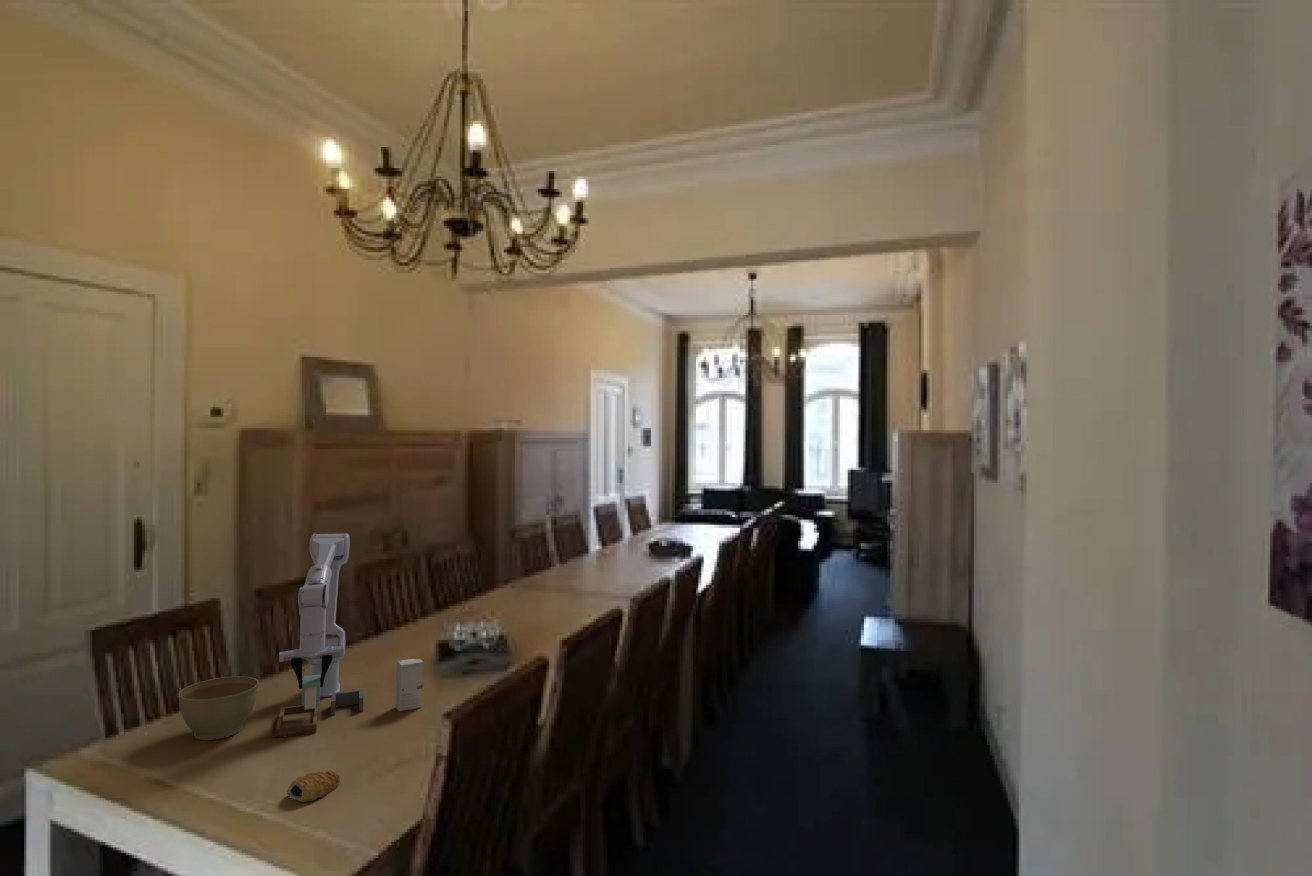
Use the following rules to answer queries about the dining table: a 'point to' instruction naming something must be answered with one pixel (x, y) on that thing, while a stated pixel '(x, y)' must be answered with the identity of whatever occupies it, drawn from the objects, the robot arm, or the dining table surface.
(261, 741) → the dining table surface
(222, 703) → the planter bowl
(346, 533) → the robot arm
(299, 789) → the pastry
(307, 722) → the tray
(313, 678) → the stacked two-tone block
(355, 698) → the bay
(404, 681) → the skincare box
